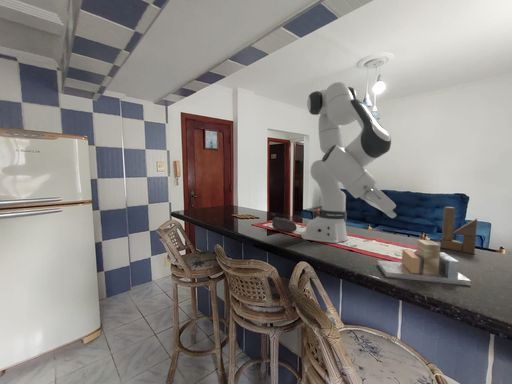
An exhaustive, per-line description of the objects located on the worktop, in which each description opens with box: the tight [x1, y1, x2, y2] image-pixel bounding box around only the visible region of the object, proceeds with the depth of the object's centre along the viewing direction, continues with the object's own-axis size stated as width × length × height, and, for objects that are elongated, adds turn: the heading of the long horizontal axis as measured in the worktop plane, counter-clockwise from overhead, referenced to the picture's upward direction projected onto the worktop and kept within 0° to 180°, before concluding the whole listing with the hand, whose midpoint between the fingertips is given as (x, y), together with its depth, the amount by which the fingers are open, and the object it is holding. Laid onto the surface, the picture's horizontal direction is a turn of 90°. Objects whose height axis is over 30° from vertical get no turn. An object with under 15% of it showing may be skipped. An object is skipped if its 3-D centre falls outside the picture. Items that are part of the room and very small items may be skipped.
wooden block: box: [439, 206, 478, 255], centre depth 96 cm, size 4×11×18 cm, turn 44°
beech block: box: [416, 239, 441, 274], centre depth 72 cm, size 4×5×9 cm
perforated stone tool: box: [271, 216, 298, 233], centre depth 128 cm, size 15×5×7 cm, turn 50°
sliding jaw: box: [401, 248, 422, 273], centre depth 73 cm, size 3×8×5 cm, turn 166°
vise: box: [377, 251, 472, 286], centre depth 73 cm, size 22×10×6 cm, turn 76°
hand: (393, 216), depth 74 cm, fingers closed
